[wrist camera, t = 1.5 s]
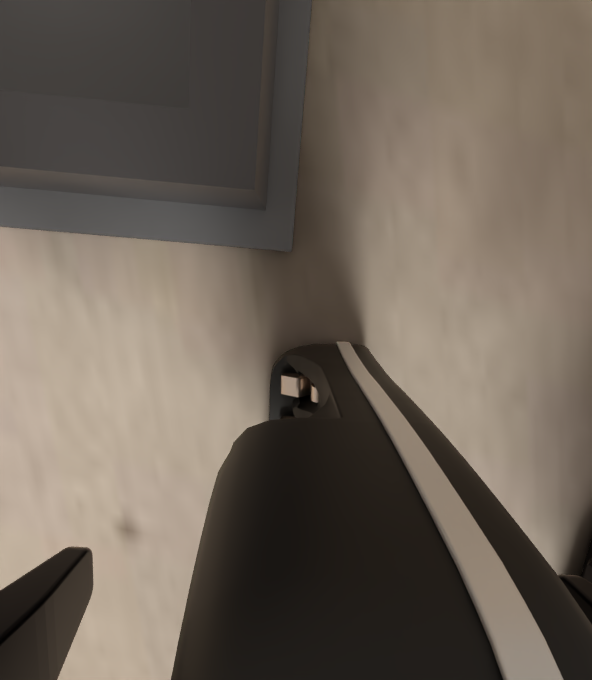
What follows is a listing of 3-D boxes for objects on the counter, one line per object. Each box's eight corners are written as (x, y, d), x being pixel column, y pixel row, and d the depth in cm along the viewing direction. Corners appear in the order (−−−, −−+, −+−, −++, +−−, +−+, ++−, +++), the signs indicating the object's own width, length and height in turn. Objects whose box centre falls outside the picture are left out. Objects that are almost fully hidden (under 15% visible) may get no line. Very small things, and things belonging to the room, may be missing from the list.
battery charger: (250, 332, 13) (13, 887, 2) (368, 335, 13) (877, 874, 2) (249, 522, 14) (125, 1458, 3) (355, 523, 14) (583, 1434, 3)
